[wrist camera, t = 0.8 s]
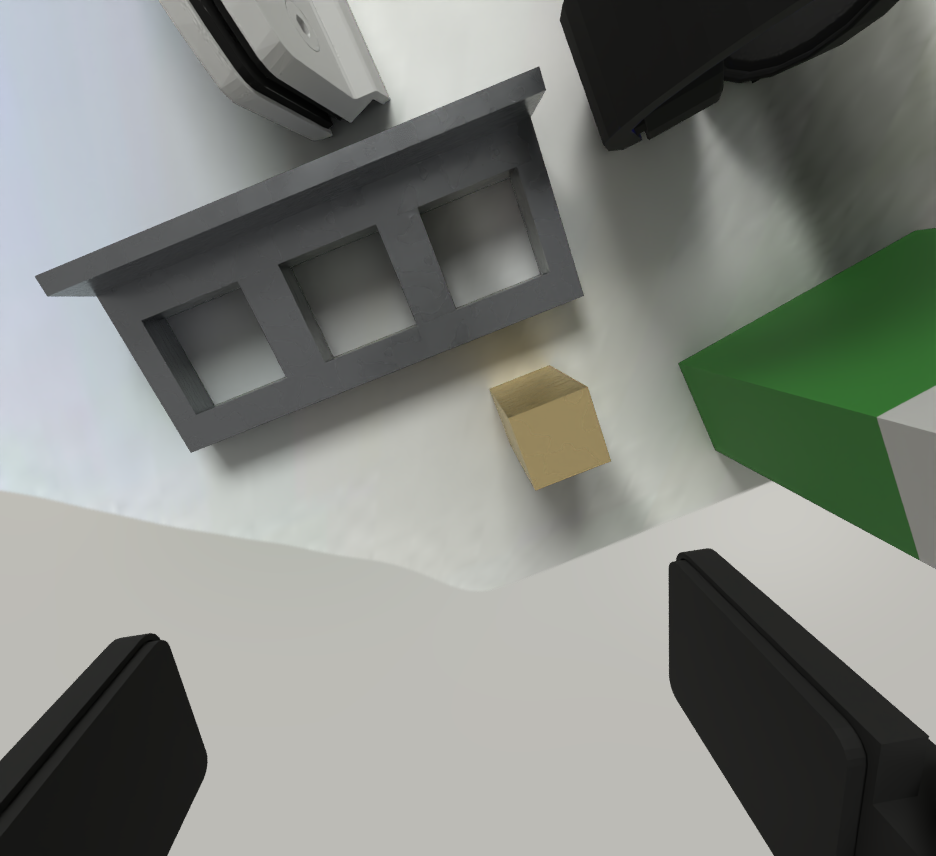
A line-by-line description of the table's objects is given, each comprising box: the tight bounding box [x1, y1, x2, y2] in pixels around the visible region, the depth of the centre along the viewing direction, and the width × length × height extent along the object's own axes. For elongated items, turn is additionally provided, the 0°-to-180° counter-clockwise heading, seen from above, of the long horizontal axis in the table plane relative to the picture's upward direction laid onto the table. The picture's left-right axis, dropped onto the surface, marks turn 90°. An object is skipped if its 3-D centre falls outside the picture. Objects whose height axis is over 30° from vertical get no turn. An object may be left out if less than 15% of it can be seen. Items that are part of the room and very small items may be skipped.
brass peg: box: [490, 365, 611, 491], centre depth 29 cm, size 4×4×8 cm
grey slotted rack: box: [35, 67, 584, 452], centre depth 26 cm, size 26×11×6 cm, turn 111°
